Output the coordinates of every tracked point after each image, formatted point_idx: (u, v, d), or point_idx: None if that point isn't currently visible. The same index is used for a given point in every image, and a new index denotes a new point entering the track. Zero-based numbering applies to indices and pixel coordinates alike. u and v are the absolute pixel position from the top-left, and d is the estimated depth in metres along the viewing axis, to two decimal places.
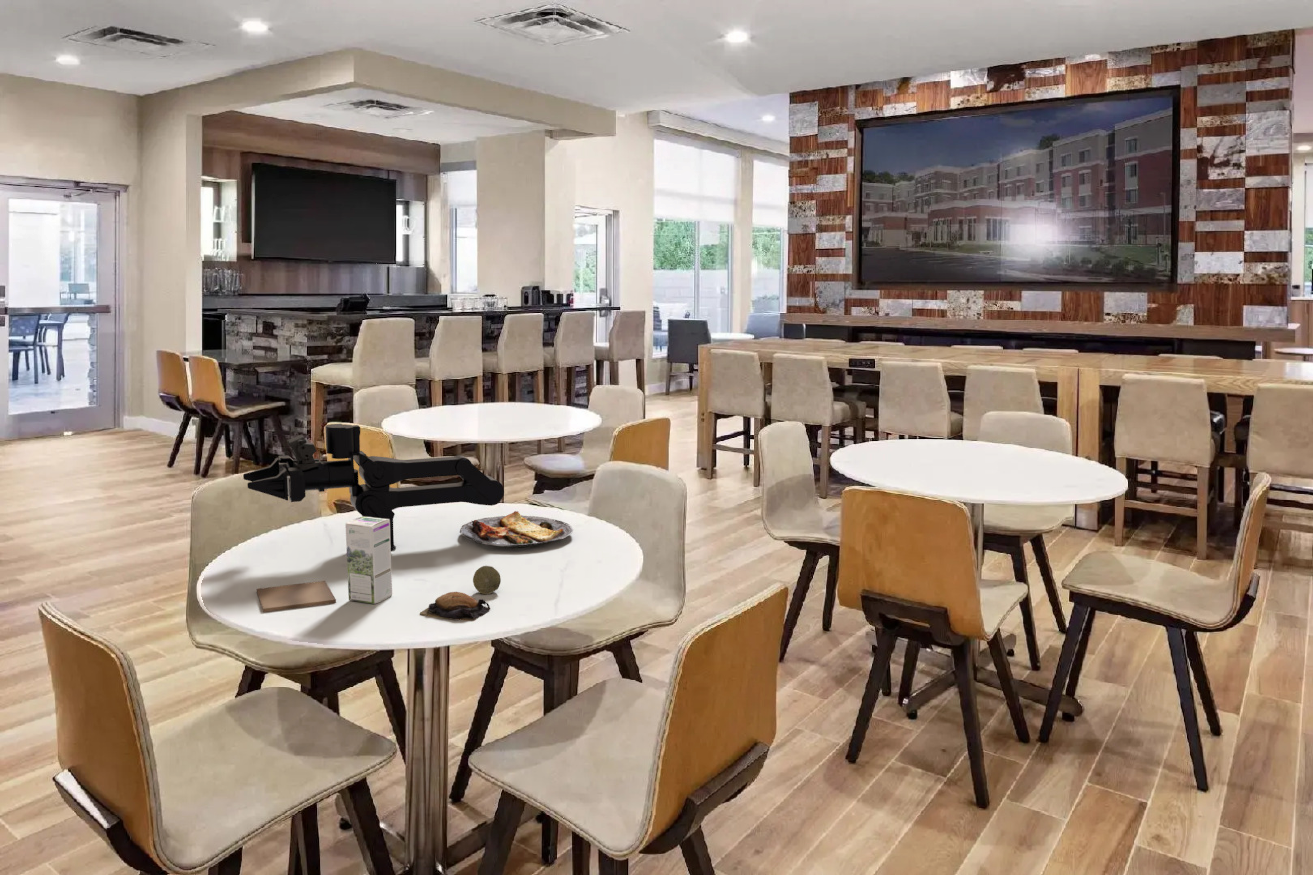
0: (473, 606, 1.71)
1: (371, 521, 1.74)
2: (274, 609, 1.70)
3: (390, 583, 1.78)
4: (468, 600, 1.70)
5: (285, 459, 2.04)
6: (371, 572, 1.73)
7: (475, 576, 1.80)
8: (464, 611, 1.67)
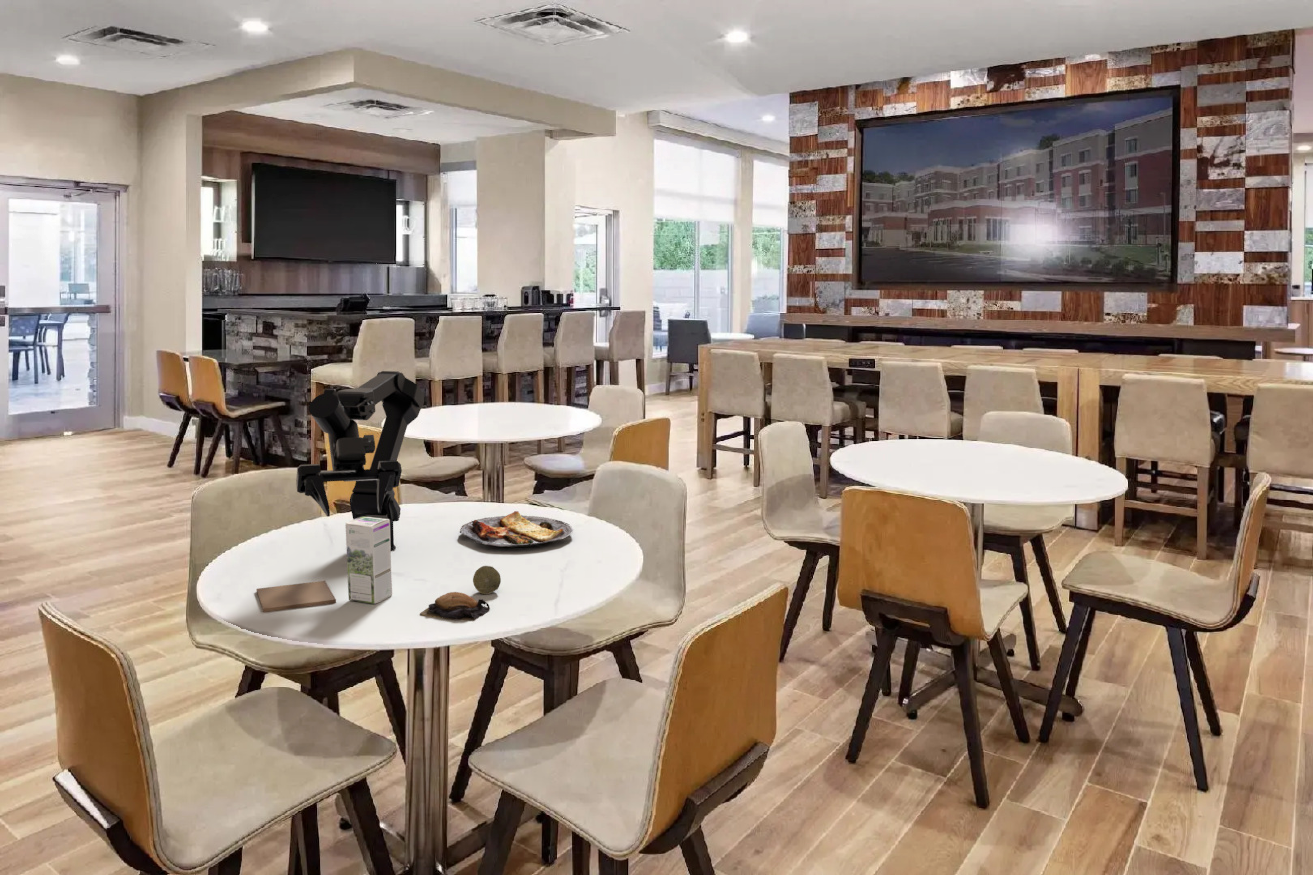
0: (473, 606, 1.71)
1: (371, 521, 1.74)
2: (274, 609, 1.70)
3: (390, 583, 1.78)
4: (468, 600, 1.70)
5: None
6: (371, 572, 1.73)
7: (475, 576, 1.80)
8: (464, 611, 1.67)
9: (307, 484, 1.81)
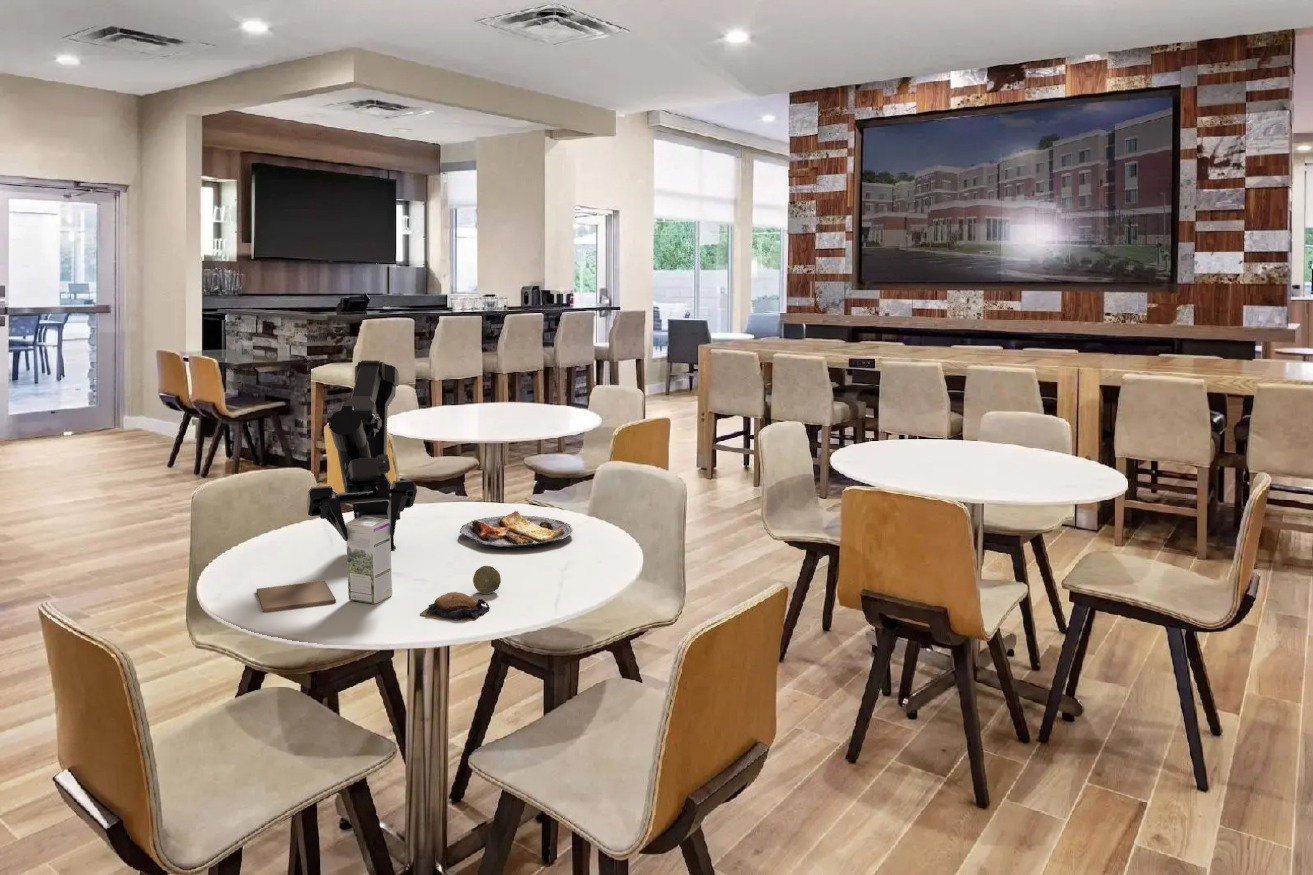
0: (473, 606, 1.71)
1: (371, 521, 1.74)
2: (274, 609, 1.70)
3: (390, 583, 1.78)
4: (468, 600, 1.70)
5: (332, 492, 1.74)
6: (371, 572, 1.73)
7: (475, 576, 1.80)
8: (465, 612, 1.67)
9: (323, 507, 1.73)
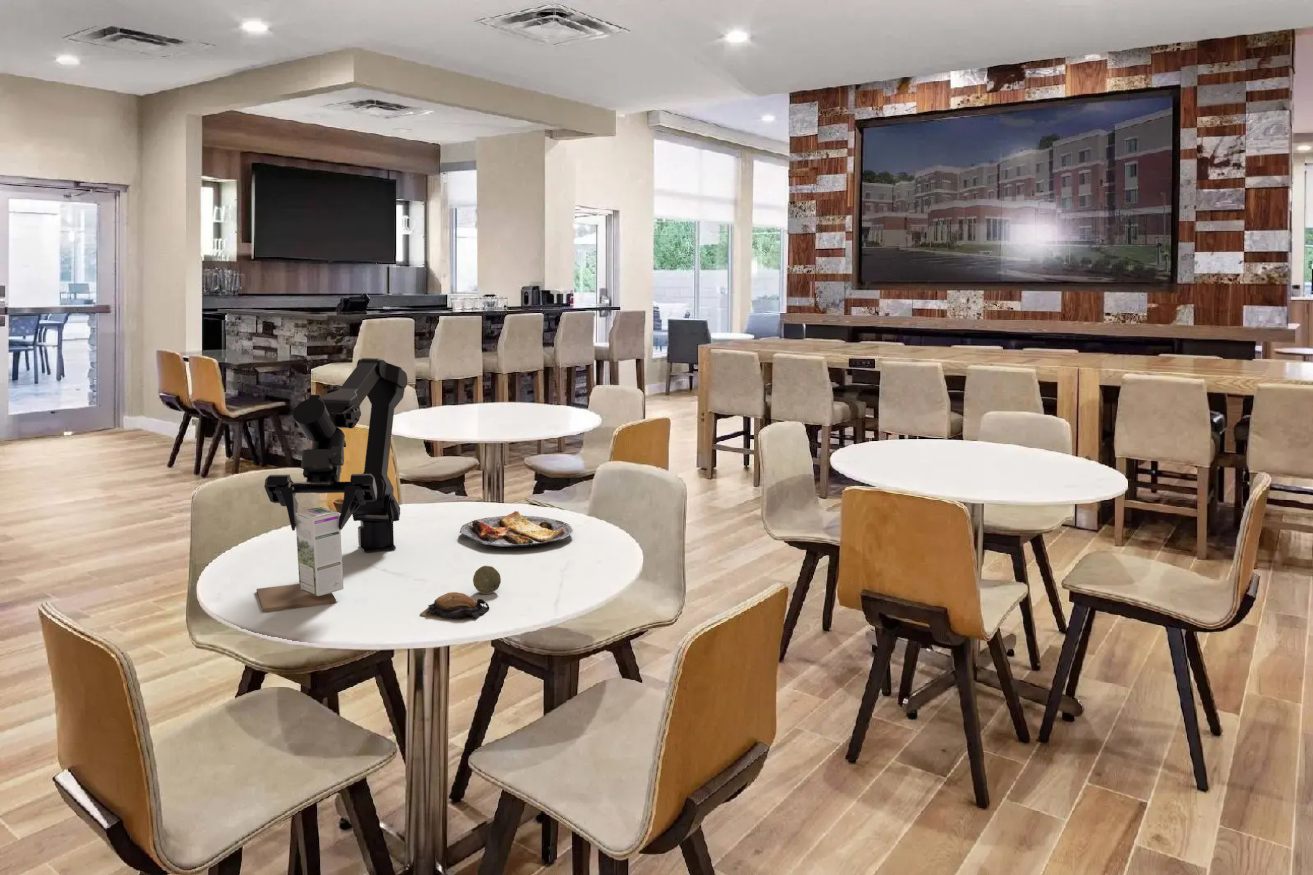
0: (473, 606, 1.71)
1: (318, 513, 1.73)
2: (274, 609, 1.70)
3: (340, 577, 1.76)
4: (468, 600, 1.70)
5: (287, 481, 1.75)
6: (313, 564, 1.72)
7: (475, 576, 1.80)
8: (465, 612, 1.67)
9: (278, 495, 1.75)
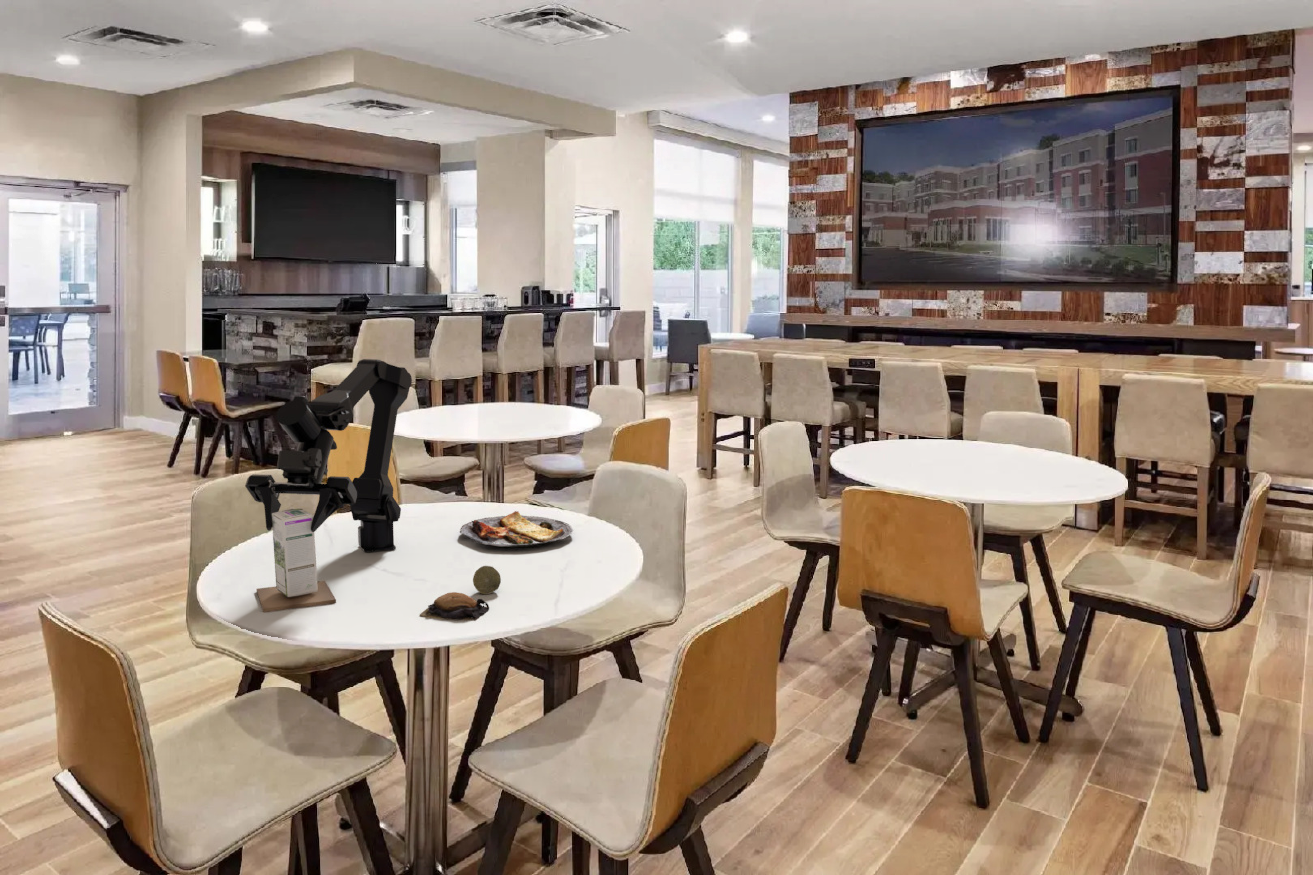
0: (473, 606, 1.71)
1: (292, 514, 1.73)
2: (274, 609, 1.70)
3: (314, 579, 1.76)
4: (468, 600, 1.71)
5: (267, 481, 1.76)
6: (284, 565, 1.72)
7: (475, 576, 1.80)
8: (465, 611, 1.67)
9: (258, 495, 1.77)
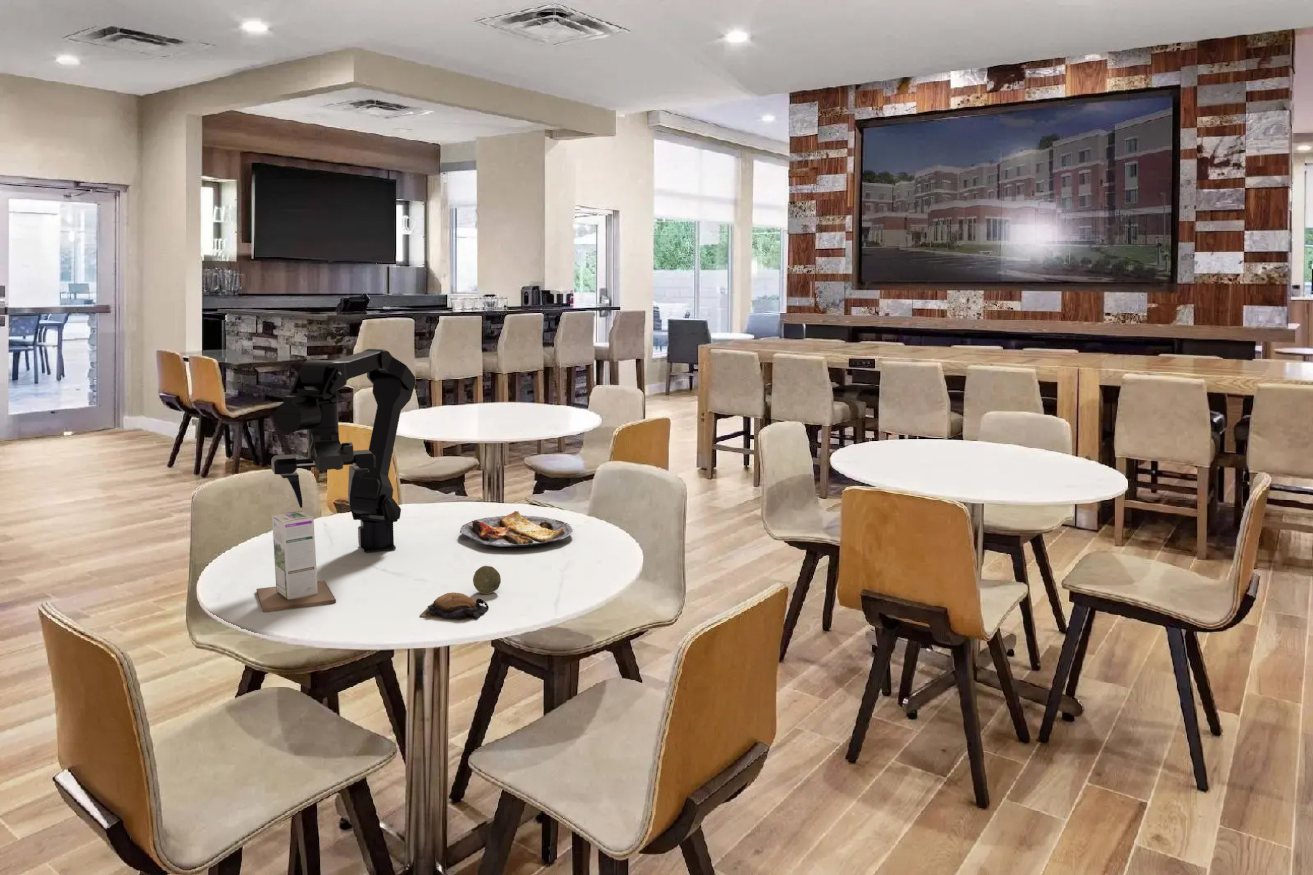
0: (473, 606, 1.71)
1: (292, 517, 1.74)
2: (274, 609, 1.70)
3: (314, 582, 1.76)
4: (468, 600, 1.71)
5: (296, 468, 1.85)
6: (284, 567, 1.73)
7: (475, 576, 1.80)
8: (466, 611, 1.68)
9: None
